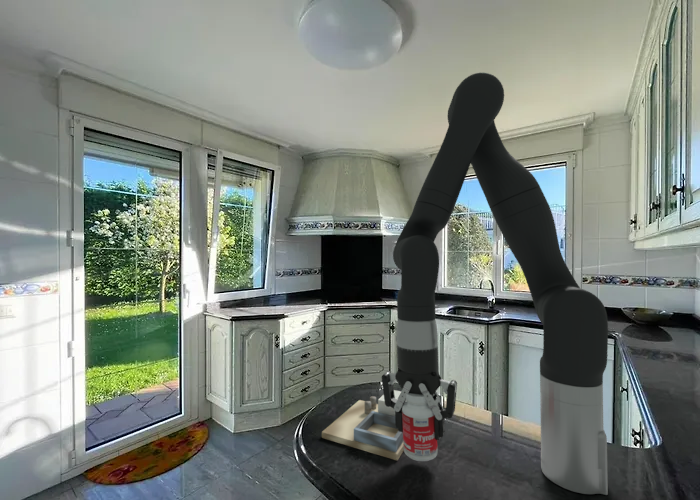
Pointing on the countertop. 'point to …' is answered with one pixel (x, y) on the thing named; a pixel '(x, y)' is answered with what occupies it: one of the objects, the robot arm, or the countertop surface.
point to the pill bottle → (418, 428)
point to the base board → (367, 430)
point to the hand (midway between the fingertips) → (419, 433)
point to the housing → (383, 408)
